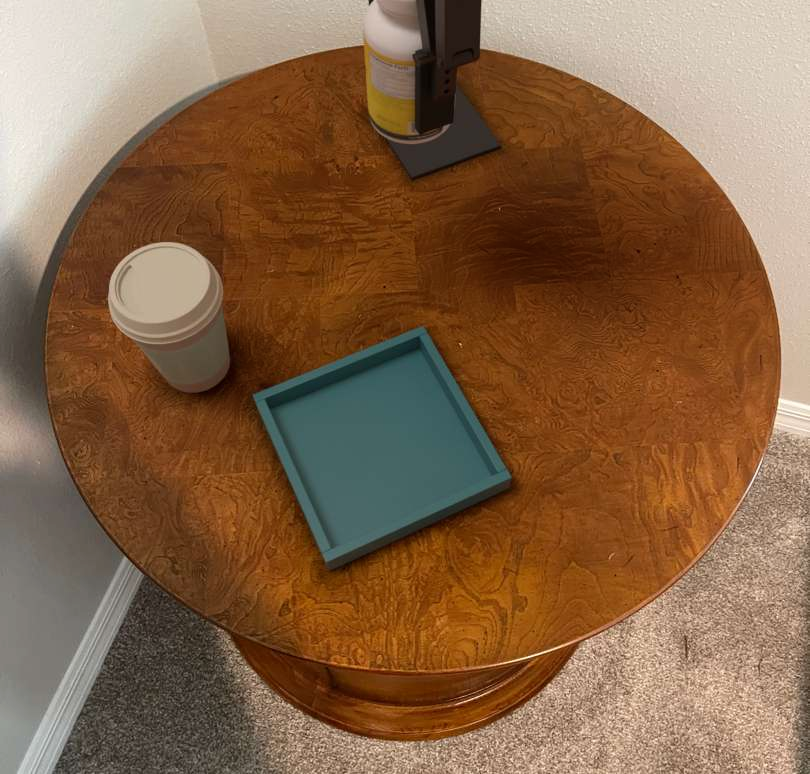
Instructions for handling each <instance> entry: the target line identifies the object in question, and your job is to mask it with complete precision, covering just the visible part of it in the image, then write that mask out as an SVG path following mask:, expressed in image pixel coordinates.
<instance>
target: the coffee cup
mask: <svg viewBox="0 0 810 774" xmlns="http://www.w3.org/2000/svg"><path fill="white" fill-rule="evenodd" d="M108 285H109V286H108V294H107V296H108V297H107V303H108V309H109V312H110V316H111V319H112V320H113V323H114V324H115V326H116V327H117V329H118V330H119V331H120V332H121V333H123V334H124V335H125V336H127V337H128V338H131V339H132V340H133V342H134V343H135V344H136V346H137V347H138V348H139V349H140V350H141V351H142V353H143V354H144V355H145V356H146V358H147V359H148V360H149V362H150V363H151V364H152V365H153V366H154V367H155V369H156V370H157V371H158V373H159V374H160V375H161V376H162V377H163V379H164V380H165V381H166V382H167V383H168V384H169V385H170V386H171V387H172V388H174V389H175V390H177V391H180V392H183V393H187V394H188V393H189V394H193V393H195V394H197V393H201V392H205V391H208V390H210V389H212V388H214V387H215V386H217V385H218V384H220V382H222V380H224V378H225V377H226V375H227V374H228V371H229V368H230V365H231V355H230V349H229V348H230V347H229V341H228V336H227V335H228V334H227V329H226V322H225V315H224V310H223V309H224V308H223V296H224V287H223V282H222V278H221V276H220V274H219V272H218V271H217V269H216V268H215V266H214V265H213V264H212V262H211V261H210V260H208V258H207V257H205V256H203V255H202V254H201V253H200V252H199V251H197V250H196V249H194V247H191V246H189V245H187V244H183V243H179V242H172V241H164V242H163V241H161V242H156V243H155V242H154V243H151V244H147V245H144V246H141V247H139V248H137V249H135V250H134V251H132V252H130V253H129V254H128V255H126V256H125V257H124V258H123V259H122V260H121V261H119V263H118V264H117V266H116V267H115V268H114V270H113V272H112V274H111V276H110V279H109V284H108Z"/></svg>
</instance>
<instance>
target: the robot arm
mask: <svg viewBox="0 0 810 774" xmlns="http://www.w3.org/2000/svg"><path fill="white" fill-rule="evenodd" d="M373 1H374V0H368V6H369V5H370V4H371V3H372V2H373ZM482 1H483V0H416V5H417V12H418V20H419V27H420V35H421V42H422V49H420V50H417V51H415V54H412V56H413V60H414V62H415V129H416V131H417V132H418V133H419V135H421V134H424V133H426V132H429V131H432V130H435V129H437V128H440V127H443V126H446V125H448V124H451V123H453V120H454V103H455V93H456V85H457V79H458V78H457V77H458V68H460V67H463V66H467V65H468V64H472V63H475V62H477V61H479V60H480V59H481V57H480V56H481V32H482V31H481V30H482V4H483V3H482Z"/></svg>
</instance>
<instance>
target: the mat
mask: <svg viewBox="0 0 810 774" xmlns="http://www.w3.org/2000/svg"><path fill="white" fill-rule="evenodd" d="M384 139H385V141H386V142H387V144H388V145H389V146H390V148H391V150H392V152H393V154H395V155H396V157H397V160H398V161H399V162H400V164H401V165H402V167H403V168H404V170H405V172H406V173H407V174H408V176H409V178H410V179H411V181H413V180H416V179H418V178H421V177H425V176H427V175H429V174H433V173H435V172H438V171H440V170H444V169H446V168H449V167H452V166H454V165H457V164H460V163H463V162H465V161H468V160H471V159H473V158H476V157H479V156H481V155H484V154H488V153H490V152H493V151H496V150H498V149H500V148H501V143H500V141H498V139H497V138H496V137H495V135H494V134H493V132H492V131H491V130H490V128H489V127H488V126H487V124H486V123H485V121H484V120H483V119H482V117H481V116H480V115H479V113H478V112H477V111H476V109H475V108H474V107H473V105H472V104H471V102H470V101H469V99H468V98H467V97H466V96H465V94H464V93H463V92H462V90H461V89H460V87H459V86H458V84H456V94H455V110H454V120H453V123H451V124H450V126H449V127H448V128H447V129H446V131H445V132H443V133H442V134H441V135H440V136H438V137H437V138H435V139H433V140H430V141H427V142H423V143H418V144H404V143H398V142H395V141H392V140H389V139H387V138H385V137H384Z"/></svg>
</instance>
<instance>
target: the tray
mask: <svg viewBox="0 0 810 774" xmlns="http://www.w3.org/2000/svg"><path fill="white" fill-rule="evenodd" d="M252 399H253V401H254V404H255V407H256V410H257V412H258V414H259V416H260V419H261V421H262V424H263V426H264V428H265V430H266V432H267V435H268V437H269V439H270V440H271V444H272V447H273V448H274V451H275V453H276V455H277V457H278V459H279V462H280V465H281V467H282V469H283V471H284V473H285V476H286V478H287V480H288V482H289V485H290V487H291V489H292V492H293V495H294V496H295V498H296V500H297V503H298V505H299V508H300V509H301V510H300V511H301V512H302V514H303V517H304V519H305V521H306V523H307V526H308V528H309V530H310V532H311V534H312V538H313V540H314V541H315V543H316V546H317V548H318V550H319V553H320V555H321V558H322V560H323V562H324V564H325V566H326V567H325V568H326V569H327V571H328V572H331V571H332V570H334V569H337V568H339V567H341V566H344V565H346V564H348V563H350V562H352V561H354V560H356V559H358V558H361V557H363V556H365V555H367V554H369V553H372V552H374V551H376V550H378V549H381V548H382V547H385V546H386V545H389V544H392V543H393V542H395V541H398V540H400V539H402V538H404V537H407V536H408V535H411V534H413V533H415V532H417V531H419V530H421V529H423V528H427V527H428V526H430V525H433V524H435V523H436V522H439V521H441V520H443V519H445V518H448V517H450V516H452V515H454V514H456V513H458V512H460V511H461V512H462V510H465V509H468V508H470V507H472V506H473V505H476V504H478V503H480V502H482V501H485V500H487V499H490V498H491V497H493V496H495V495H498V494H500V493H502V492H504V491H506V490H508V489H510V486H511V482H512V475H511V473H510V471H509V470H508V468H507V467H506V465H505V463H504V461H503V460H502V458H501V456H500V455H499V453H498V452H497V450H496V448H495V446H494V444H493V442H492V441H491V439H490V437H489V436H488V434H487V432H486V431H485V429H484V427H483V426H482V424H481V422H480V420H479V418H478V417H477V415H476V414H475V412H474V410H473V409H472V406H471V405H470V403H469V401H468V399H467V398H466V396H465V394H464V393H463V392H462V389H461V388H460V386H459V384H458V383H457V381H456V380H455V378H454V376H453V374H452V372H451V371H450V369H449V367H448V365H447V363H446V362H445V361H444V358H443V357H442V355H441V354H440V352H439V350H438V349H437V347H436V345H435V344H434V341H433V339H432V338H431V336H430V334H429V333H428V331H427V330H426V328H425V326H424V325H421V326H419V327H416V328H413V329H412V330H408V331H406V332H404V333H402V334H399V335H397V336H394V337H391V338H389V339H387V340H383V341H381V342H380V343H377V344H374V345H371V346H369V347H367V348H365V349H364V348H363V349H362V350H360V351H357V352H355V353H352V354H349V355H347V356H345V357H342V358H340V359H337V360H335V361H333V362H330V363H327V364H325V365H323V366H320V367H318V368H315V369H313V370H309V371H308V372H305V373H303V374H300V375H298V376H295V377H293V378H290V379H288V380H285V381H283V382H280V383H278V384H275V385H273V386H270V387H267V388H266V389H262V390H261V391H258V392H256V393H253V394H252Z"/></svg>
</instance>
